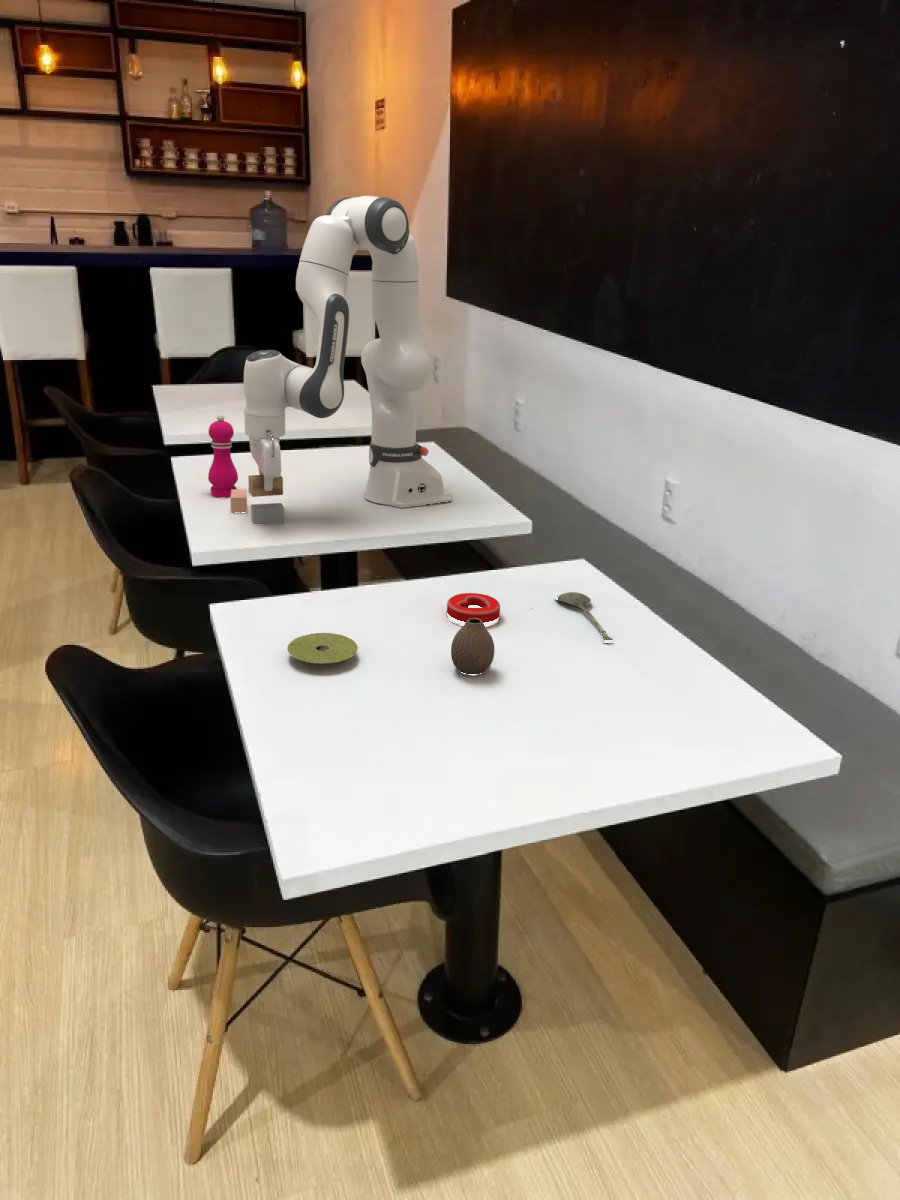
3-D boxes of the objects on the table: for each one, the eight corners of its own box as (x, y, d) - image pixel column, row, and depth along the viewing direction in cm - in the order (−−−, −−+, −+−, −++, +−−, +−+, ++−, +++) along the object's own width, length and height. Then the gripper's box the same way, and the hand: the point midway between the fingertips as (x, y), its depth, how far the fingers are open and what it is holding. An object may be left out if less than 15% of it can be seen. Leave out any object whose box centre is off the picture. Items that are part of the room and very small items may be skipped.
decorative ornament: (497, 631, 162) (498, 615, 161) (443, 625, 163) (444, 609, 162) (501, 610, 171) (502, 594, 170) (450, 605, 172) (450, 589, 171)
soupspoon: (582, 600, 180) (550, 603, 179) (583, 584, 179) (550, 587, 177) (625, 644, 160) (589, 648, 159) (626, 626, 159) (590, 630, 157)
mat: (371, 654, 150) (371, 644, 149) (329, 680, 141) (329, 669, 140) (316, 637, 155) (316, 626, 155) (273, 661, 146) (272, 650, 145)
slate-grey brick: (281, 519, 214) (281, 502, 212) (284, 523, 211) (283, 507, 209) (251, 521, 212) (250, 504, 210) (253, 525, 209) (253, 508, 207)
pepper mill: (234, 499, 226) (231, 418, 219) (205, 497, 226) (201, 416, 219) (241, 491, 233) (238, 412, 225) (213, 489, 233) (209, 411, 225)
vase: (443, 663, 149) (446, 614, 145) (482, 658, 151) (486, 610, 148) (459, 682, 143) (462, 631, 139) (499, 677, 145) (503, 627, 142)
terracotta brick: (232, 505, 222) (231, 489, 220) (246, 505, 223) (246, 489, 221) (231, 514, 216) (230, 497, 214) (246, 514, 216) (245, 497, 215)
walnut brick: (278, 490, 211) (278, 473, 210) (283, 494, 209) (282, 477, 207) (248, 492, 209) (248, 475, 207) (252, 496, 206) (252, 479, 204)
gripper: (287, 436, 195) (288, 499, 200) (271, 416, 212) (272, 474, 218) (258, 437, 193) (259, 500, 198) (244, 417, 210) (245, 475, 216)
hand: (266, 486), depth 208 cm, fingers closed on walnut brick, 4 cm apart
